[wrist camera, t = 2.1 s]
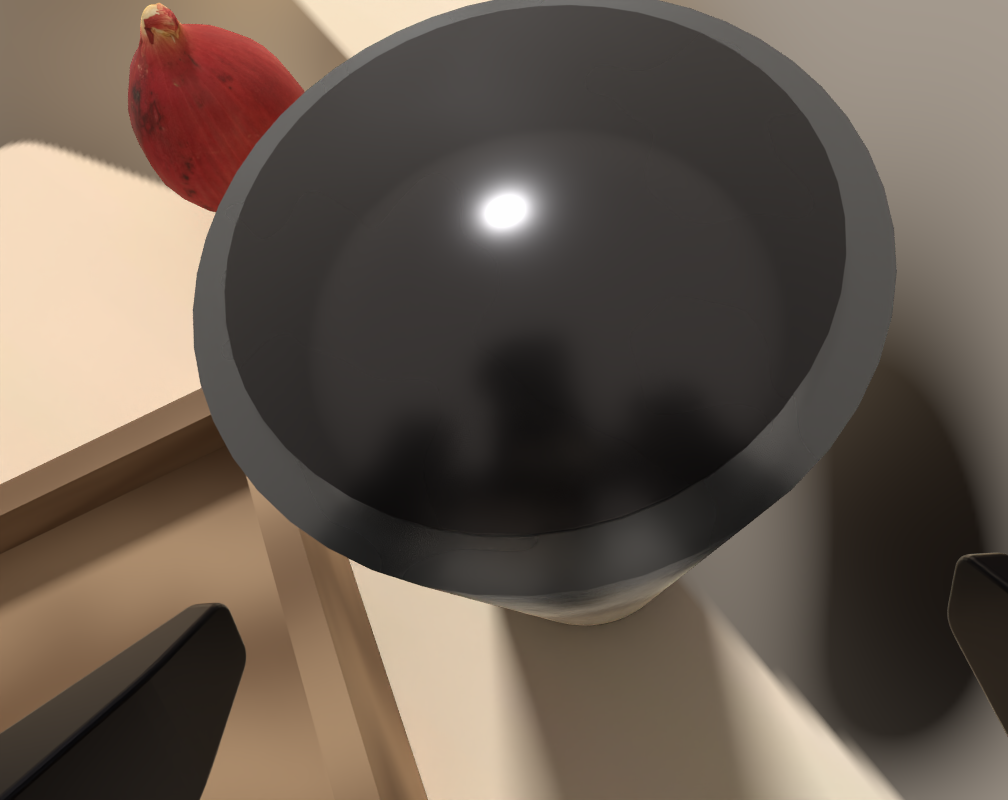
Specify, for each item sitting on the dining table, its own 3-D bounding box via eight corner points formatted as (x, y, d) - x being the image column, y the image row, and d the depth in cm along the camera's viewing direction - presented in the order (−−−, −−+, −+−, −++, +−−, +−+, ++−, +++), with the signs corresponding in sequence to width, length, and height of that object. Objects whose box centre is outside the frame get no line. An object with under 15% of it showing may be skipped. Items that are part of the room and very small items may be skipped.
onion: (249, 283, 23) (85, 122, 16) (193, 194, 26) (25, 16, 18) (373, 200, 24) (270, 6, 16) (308, 120, 26) (190, -83, 19)
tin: (724, 568, 17) (1109, 349, 4) (532, 662, 17) (283, 754, 4) (621, 393, 19) (650, -104, 6) (452, 475, 19) (130, 142, 6)
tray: (443, 846, 16) (408, 891, 13) (-51, 1091, 15) (-195, 1191, 13) (296, 400, 21) (249, 365, 18) (-71, 576, 21) (-174, 567, 18)
